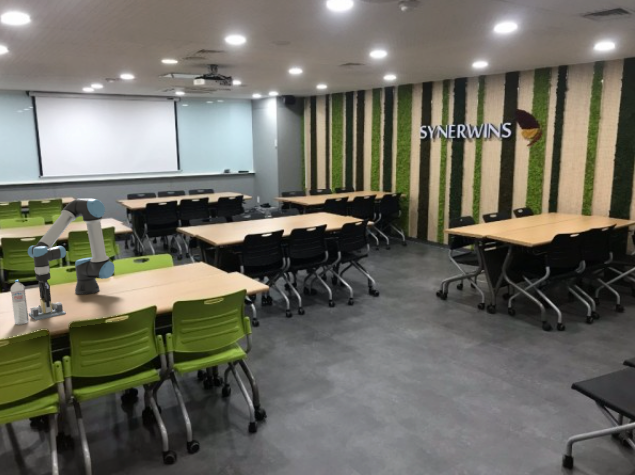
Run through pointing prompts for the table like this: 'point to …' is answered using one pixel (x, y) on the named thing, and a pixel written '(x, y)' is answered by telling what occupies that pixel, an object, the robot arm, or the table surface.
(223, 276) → the table surface
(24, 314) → the water bottle
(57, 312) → the shaft bench
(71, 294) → the table surface
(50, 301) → the pale yellow block
